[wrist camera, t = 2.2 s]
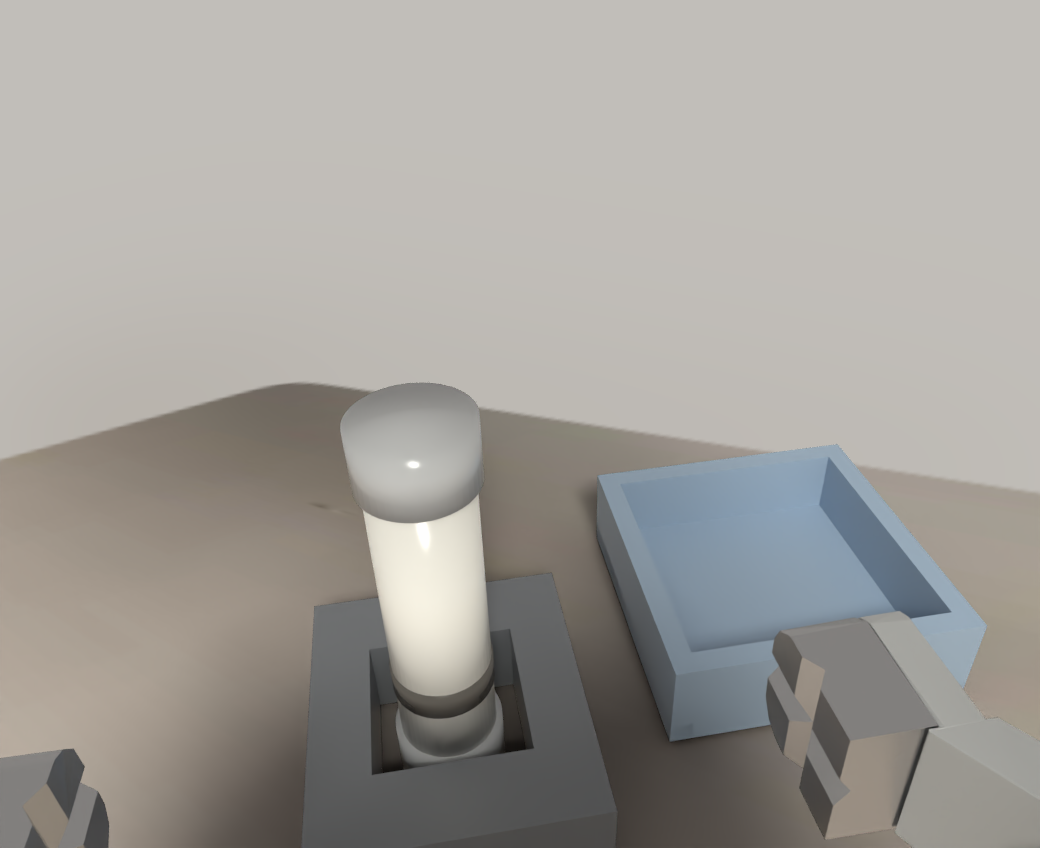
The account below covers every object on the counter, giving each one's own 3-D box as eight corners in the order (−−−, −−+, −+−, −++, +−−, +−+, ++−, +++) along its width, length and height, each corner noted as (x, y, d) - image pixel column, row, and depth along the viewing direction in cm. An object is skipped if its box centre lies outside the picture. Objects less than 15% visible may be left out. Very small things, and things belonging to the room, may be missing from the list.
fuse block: (318, 922, 25) (300, 866, 24) (327, 660, 34) (314, 606, 32) (614, 868, 26) (617, 811, 25) (552, 627, 35) (551, 572, 33)
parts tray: (669, 741, 30) (676, 674, 28) (596, 536, 39) (597, 475, 37) (961, 693, 31) (987, 625, 29) (824, 505, 40) (837, 444, 38)
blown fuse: (404, 807, 28) (339, 467, 20) (400, 717, 31) (340, 390, 23) (512, 789, 29) (488, 449, 21) (497, 702, 32) (471, 376, 24)
